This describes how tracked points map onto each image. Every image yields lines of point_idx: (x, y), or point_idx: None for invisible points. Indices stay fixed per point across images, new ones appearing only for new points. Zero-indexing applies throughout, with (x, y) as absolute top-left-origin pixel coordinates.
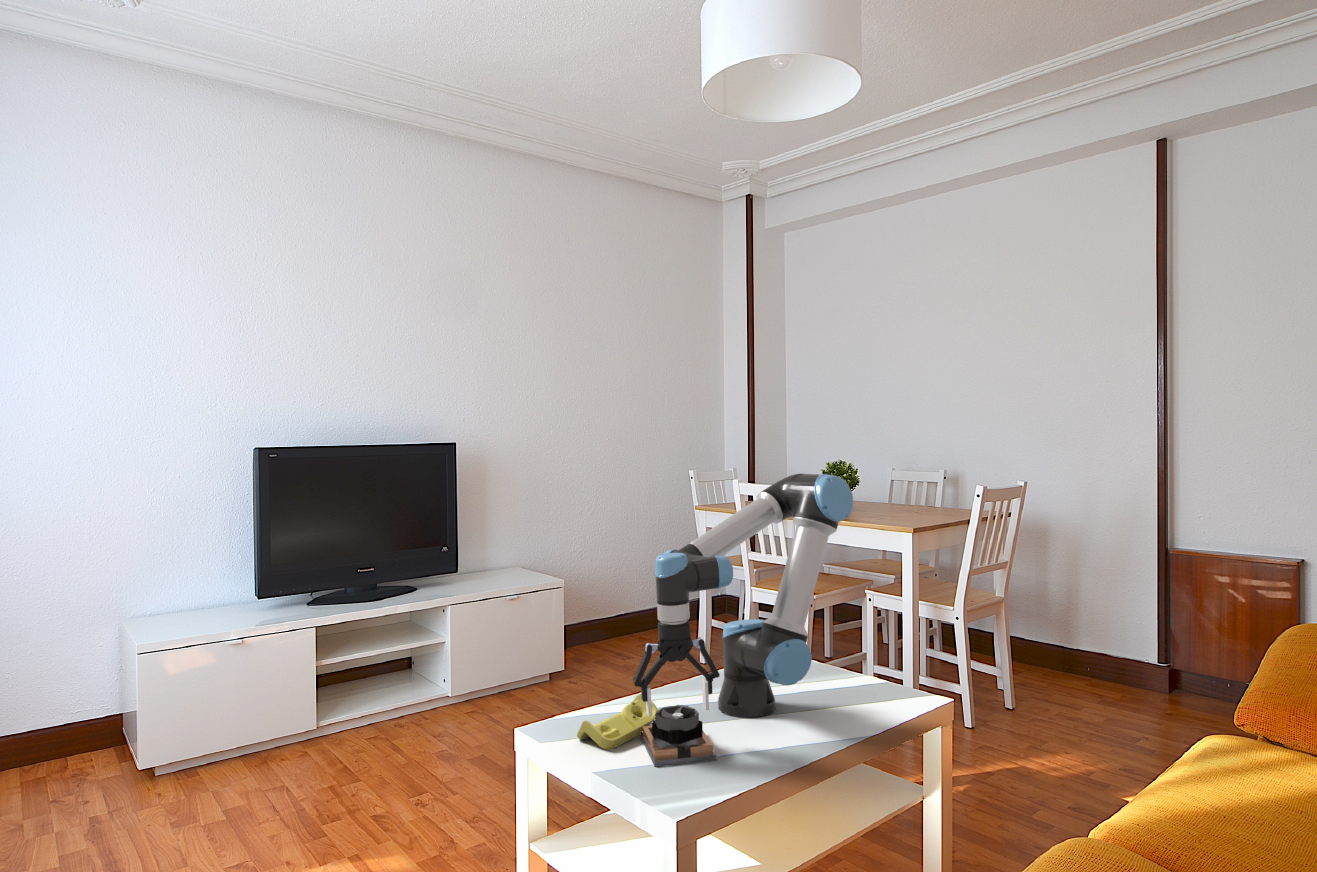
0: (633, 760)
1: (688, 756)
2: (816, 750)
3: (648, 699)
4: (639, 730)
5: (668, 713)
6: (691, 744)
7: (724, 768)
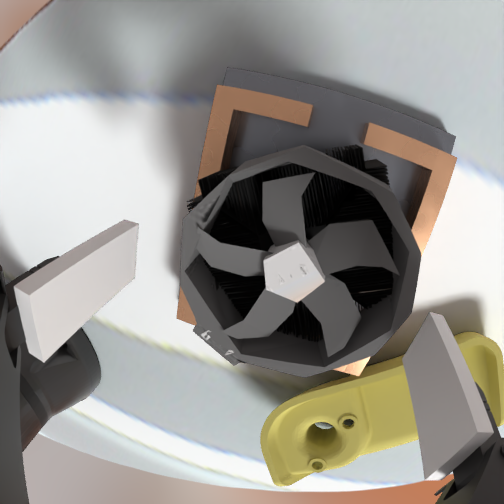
0: (474, 223)
1: (328, 101)
2: (14, 63)
3: (470, 376)
4: (363, 372)
5: (321, 317)
6: None
7: (241, 6)
